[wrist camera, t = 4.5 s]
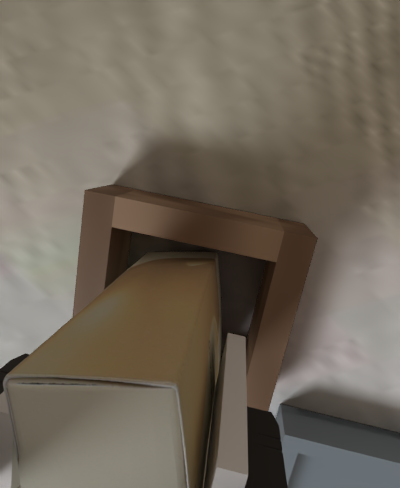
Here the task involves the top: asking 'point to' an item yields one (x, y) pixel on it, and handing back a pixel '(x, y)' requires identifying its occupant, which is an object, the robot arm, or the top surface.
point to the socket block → (211, 236)
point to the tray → (336, 452)
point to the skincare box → (125, 383)
